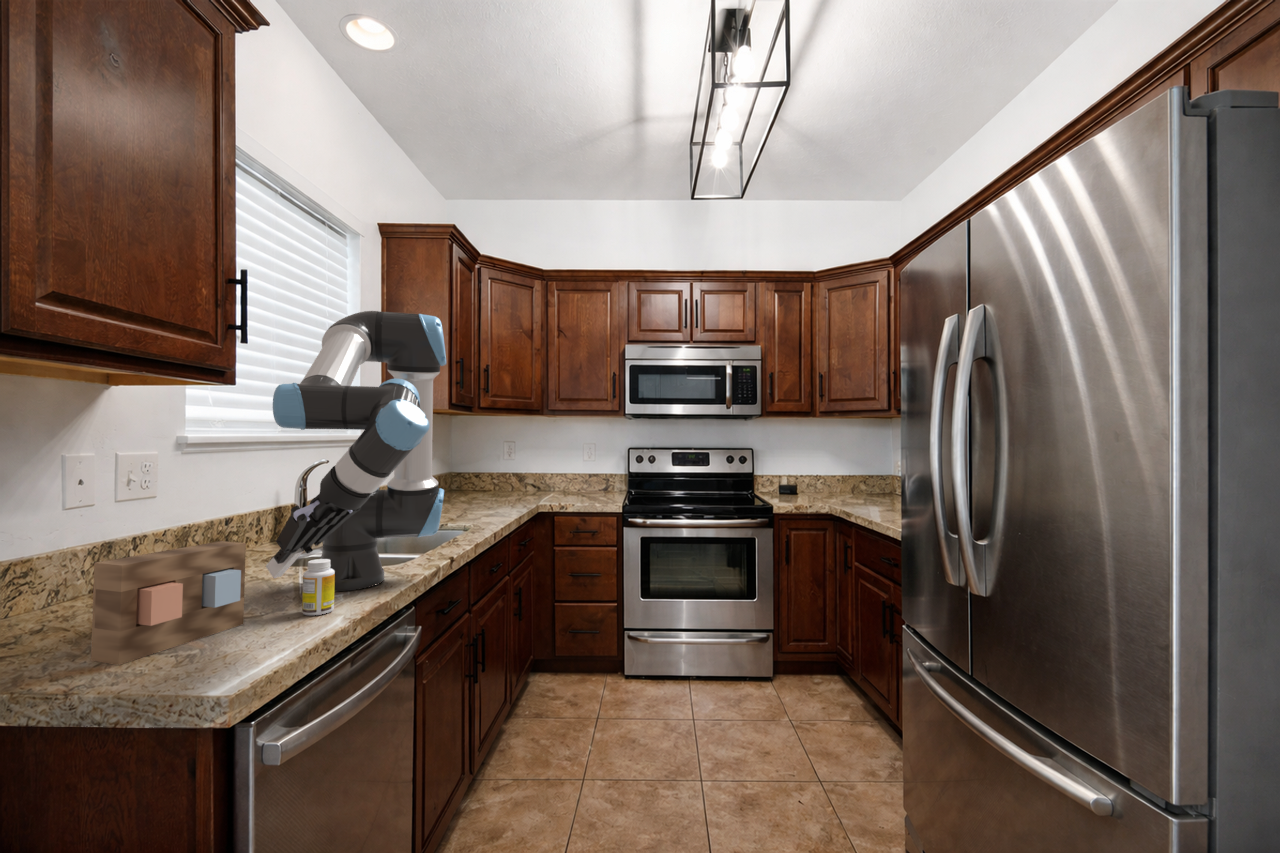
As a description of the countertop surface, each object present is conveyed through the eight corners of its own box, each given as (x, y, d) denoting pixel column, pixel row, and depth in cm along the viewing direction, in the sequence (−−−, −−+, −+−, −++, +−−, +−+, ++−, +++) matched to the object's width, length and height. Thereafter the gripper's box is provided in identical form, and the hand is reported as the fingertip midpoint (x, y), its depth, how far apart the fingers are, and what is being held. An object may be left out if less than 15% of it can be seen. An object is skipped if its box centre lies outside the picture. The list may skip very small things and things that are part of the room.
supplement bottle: (334, 606, 116) (335, 556, 117) (333, 614, 111) (334, 562, 112) (303, 610, 114) (304, 559, 114) (300, 618, 109) (301, 564, 109)
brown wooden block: (218, 621, 107) (221, 541, 107) (243, 624, 105) (245, 543, 105) (91, 660, 87) (94, 562, 88) (118, 665, 86) (122, 565, 86)
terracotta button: (150, 612, 94) (151, 580, 94) (181, 617, 92) (182, 583, 92) (118, 621, 90) (119, 587, 90) (150, 625, 88) (151, 590, 88)
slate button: (210, 597, 104) (211, 567, 104) (240, 600, 102) (241, 570, 102) (184, 604, 99) (185, 573, 99) (214, 607, 97) (215, 576, 98)
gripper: (370, 459, 100) (294, 547, 105) (309, 464, 88) (225, 563, 92) (395, 491, 99) (316, 578, 103) (336, 500, 86) (249, 598, 91)
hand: (273, 571), depth 98 cm, fingers closed
